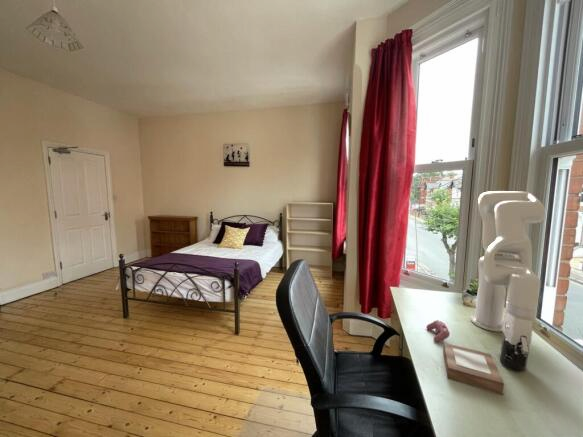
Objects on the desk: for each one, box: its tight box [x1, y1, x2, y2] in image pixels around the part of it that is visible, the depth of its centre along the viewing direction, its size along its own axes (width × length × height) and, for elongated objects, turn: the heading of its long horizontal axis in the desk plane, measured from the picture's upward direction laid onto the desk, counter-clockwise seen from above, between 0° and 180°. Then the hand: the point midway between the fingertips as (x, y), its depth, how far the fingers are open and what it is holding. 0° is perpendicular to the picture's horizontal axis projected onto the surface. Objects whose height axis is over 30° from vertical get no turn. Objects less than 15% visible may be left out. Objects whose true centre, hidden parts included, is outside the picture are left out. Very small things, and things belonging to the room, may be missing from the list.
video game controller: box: [426, 319, 451, 343], centre depth 101 cm, size 10×5×7 cm, turn 169°
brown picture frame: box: [442, 342, 505, 396], centre depth 82 cm, size 14×14×4 cm
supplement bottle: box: [499, 337, 530, 373], centre depth 84 cm, size 7×7×12 cm
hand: (513, 357), depth 84 cm, fingers closed on supplement bottle, 6 cm apart
